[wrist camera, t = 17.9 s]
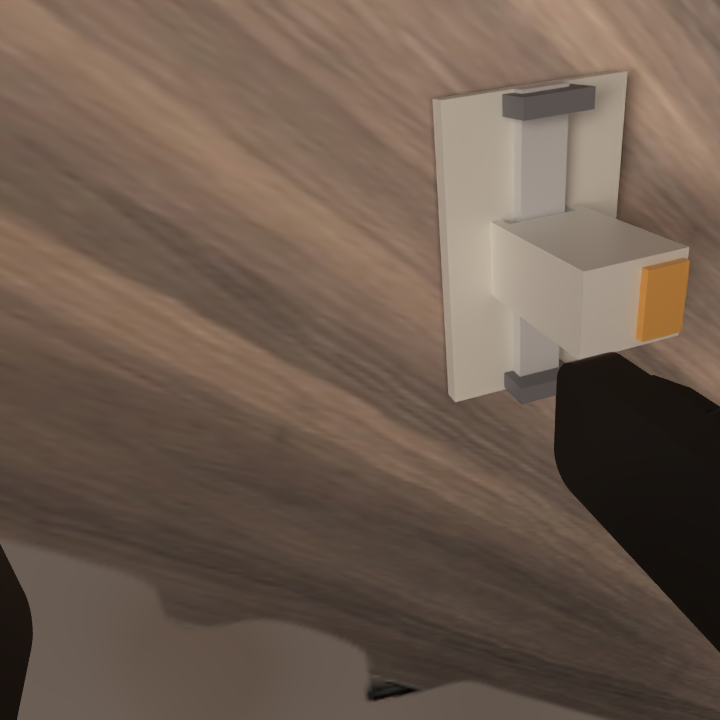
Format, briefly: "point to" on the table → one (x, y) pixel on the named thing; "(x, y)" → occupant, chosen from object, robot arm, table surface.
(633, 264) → the rail module
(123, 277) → the table surface
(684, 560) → the robot arm
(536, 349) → the mounting board
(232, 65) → the table surface
